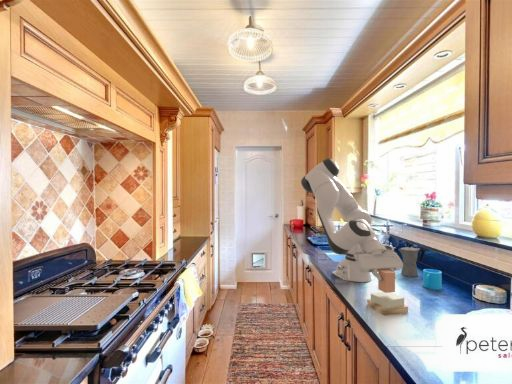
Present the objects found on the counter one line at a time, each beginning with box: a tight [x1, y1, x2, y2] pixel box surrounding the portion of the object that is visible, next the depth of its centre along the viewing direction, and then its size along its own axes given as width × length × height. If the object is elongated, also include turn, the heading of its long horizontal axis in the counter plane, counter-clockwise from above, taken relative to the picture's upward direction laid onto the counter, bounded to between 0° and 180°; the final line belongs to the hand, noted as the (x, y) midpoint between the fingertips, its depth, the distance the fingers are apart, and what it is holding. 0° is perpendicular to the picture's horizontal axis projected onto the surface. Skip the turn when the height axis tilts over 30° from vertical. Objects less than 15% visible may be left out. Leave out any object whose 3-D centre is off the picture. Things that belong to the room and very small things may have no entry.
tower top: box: [370, 291, 405, 308], centre depth 123 cm, size 9×9×3 cm
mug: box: [422, 268, 443, 291], centre depth 151 cm, size 12×8×8 cm
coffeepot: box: [398, 243, 426, 278], centre depth 175 cm, size 15×9×18 cm, turn 90°
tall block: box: [377, 270, 396, 293], centre depth 123 cm, size 4×4×8 cm
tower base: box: [366, 298, 409, 316], centre depth 123 cm, size 11×11×3 cm
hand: (387, 279), depth 122 cm, fingers closed on tall block, 4 cm apart
